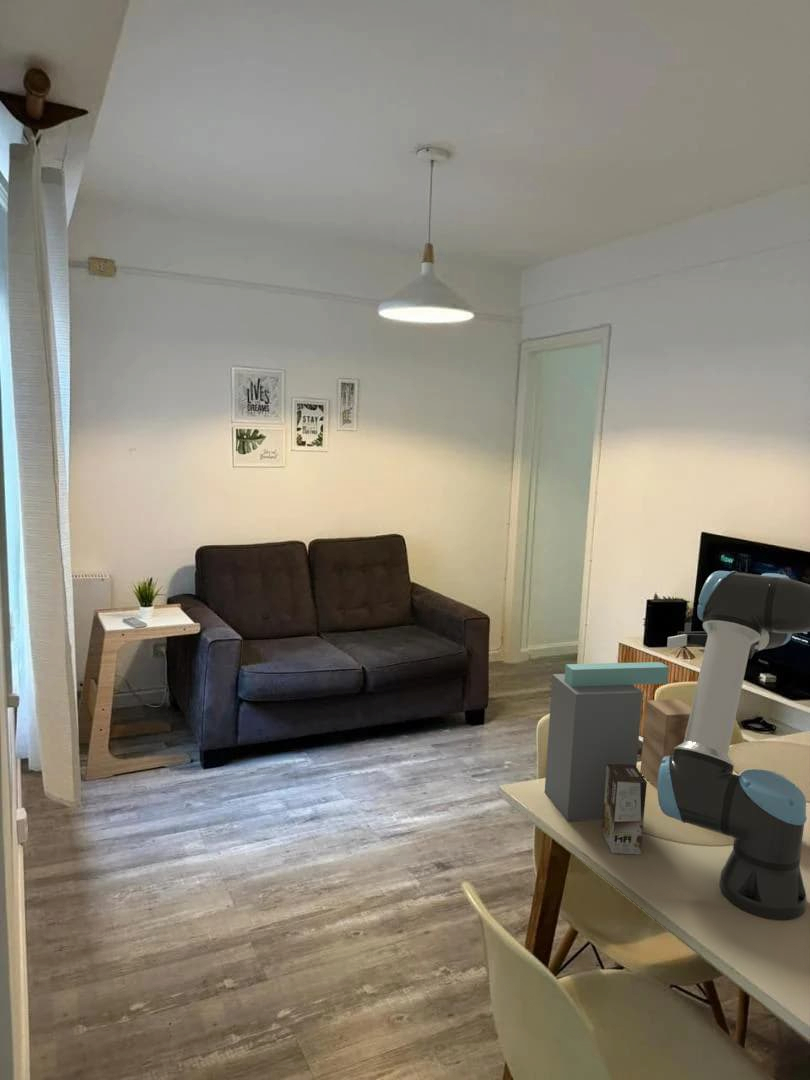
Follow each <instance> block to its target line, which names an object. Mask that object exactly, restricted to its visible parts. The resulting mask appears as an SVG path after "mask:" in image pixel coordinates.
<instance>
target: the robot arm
mask: <svg viewBox="0 0 810 1080" xmlns="http://www.w3.org/2000/svg"><path fill="white" fill-rule="evenodd" d="M696 612H697V618H698V619H699V620H700V621H701V622H702V629H703V630H704V631H702V630H701V631H677V635H674V636H668V637H667V643H666V644H667V645H666V648H667V649H669V650H670V649H675V648H681V647H683V648H684V647H686V646H687V645H702V646H703V645H704V646H705V647H704V652H703V656H702V661H701V664H700V665H701V666H700V670H699V674H698V678H697V682H696V687H695V691H694V696H693V700H692V703H691V706H692V708H691V712H690V717H689V721H688V726H687V730H686V734H685V739H684V742H683V743H682V744H680V745H678V746H677V747H675V748H674V751H673V755H672V757H671V756H665V757H664V758H663V759H662V762H661V764H660V768H659V774H658V786H657V789H656V790H657V800H658V805H659V808H660V810H661V812H662V814H664V815H666V816H667V817H670V818H672V819H675V820H678V821H680V822H681V823H683V824H689V825H693V826H696V827H700V828H703V829H706V830H707V831H712V832H715V833H718V834H721V835H725V836H728V837H731V838H733V845H732V850H731V852H730V853H729V856H728V857H727V860H726V862H725V864H724V865H723V867H722V869H721V872H720V875H719V883H718V884H719V889H720V892H721V894H722V895H723V896H724V897H725V898H726V899H727V900H728V901H729V902H730V903H732V904H733V905H734V906H735V907H737V908H739V909H741V910H743V911H746V912H747V913H750V914H752V915H756V916H758V917H760V918H761V917H762V918H765V919H772V920H781V921H782V920H783V921H784V920H791V919H792V920H793V919H796V918H798V917H800V916H802V915H803V914H804V912H805V911H806V905H807V893H806V888H805V885H804V881H803V876H802V873H801V867H800V865H801V857H802V856H801V855H802V847H803V840H804V839H803V838H804V837H803V836H804V829H805V827H804V826H805V823H806V821H807V815H806V814H807V813H806V811H807V799H806V796H805V794H804V793H803V792H802V790H801V789H800V788H799V787H798V786H797V785H796V784H795V783H793V782H792V781H791V780H790V779H789V780H790V781H789V780H787V779H785V778H783V777H781V776H779V775H776V774H774V773H771V772H767V771H763V770H758V771H757V770H755V769H756V768H748V769H749V770H746V769H744V770H745V771H744V770H742V771H743V772H742V774H741V775H740V776H738V774H734V768H735V765H734V763H733V762H732V760H731V759H730V757H729V750H730V746H731V741H732V736H733V731H734V726H735V722H736V717H737V712H738V708H739V702H740V700H741V692H742V688H743V683H744V679H745V676H746V669H747V665H748V660H751V659H752V658H753V656H754V654H755V653H757V652H759V651H763V650H768V649H776V648H779V647H780V646H783V645H786V644H787V643H788V642H789V641H790V640H791V638H792V636H793V634H801V633H808V632H810V584H808V583H806V582H805V583H804V582H802V581H798V580H795V579H791V578H790V577H789V576H788V575H786V574H781V573H774V572H773V573H772V572H765V573H762V574H761V575H760V574H754V573H753V574H752V573H747V572H739V571H737V570H732V571H728V570H717V571H714V572H712V573H711V574H710V575H709V576H708V577H707V578H706V579H705V582H704V584H703V586H702V589H701V591H700V594H699V597H698V605H697V611H696Z"/></svg>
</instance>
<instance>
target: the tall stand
mask: <svg viewBox="0 0 810 1080" xmlns="http://www.w3.org/2000/svg"><path fill="white" fill-rule="evenodd" d="M564 679H565V673H553V674H552V676H551V689H550V691H551V692H550V703H549V704H550V706H549V720H548V735H547V752H546V765H545V767H546V768H545V782H544V793H545V795H546V796H547V797H548V799H549V800H550V801H551V802H552V804H553V805H554V806H555V808H556V809H557V810H558V811H559V813H560V814H561V815H562V816H563V818H564V819H565V821H566V822H575V821H585V820H586V821H588V820H603V812H604V797H605V783H606V769H607V764H631V765H635V766H636V767H637V766H638V765H637V763H638V753H639V743H640V742H639V741H640V730H641V729H640V727H641V718H642V717H641V716H642V706H643V705H642V704H643V694H644V693H643V691H642V690H641V689H639V688H637V686H636V685H607V686H575V687H571V686H570V685H569V684H567V683H566V682H565V681H564Z"/></svg>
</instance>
